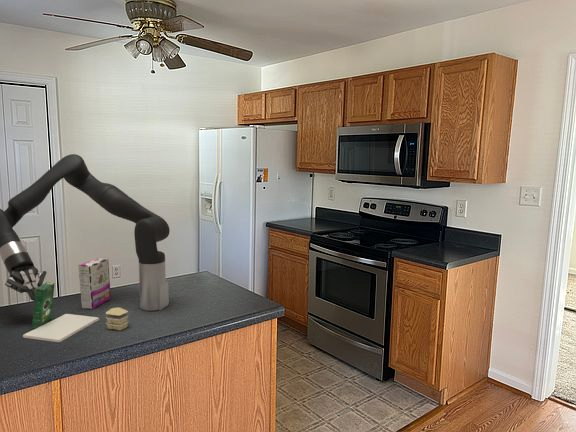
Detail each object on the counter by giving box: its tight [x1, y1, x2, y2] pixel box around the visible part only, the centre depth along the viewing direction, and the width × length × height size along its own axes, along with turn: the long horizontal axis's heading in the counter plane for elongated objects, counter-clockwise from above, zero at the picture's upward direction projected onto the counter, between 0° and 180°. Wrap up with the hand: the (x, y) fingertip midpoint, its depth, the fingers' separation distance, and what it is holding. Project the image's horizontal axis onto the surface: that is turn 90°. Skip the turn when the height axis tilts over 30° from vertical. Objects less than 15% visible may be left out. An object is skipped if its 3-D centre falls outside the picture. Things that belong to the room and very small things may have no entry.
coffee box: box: [31, 281, 55, 329], centre depth 138 cm, size 8×3×13 cm, turn 5°
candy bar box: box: [78, 257, 112, 310], centre depth 157 cm, size 11×5×16 cm, turn 168°
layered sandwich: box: [105, 307, 130, 331], centre depth 138 cm, size 10×9×6 cm
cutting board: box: [22, 313, 100, 343], centre depth 136 cm, size 13×18×1 cm
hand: (37, 299), depth 138 cm, fingers closed
